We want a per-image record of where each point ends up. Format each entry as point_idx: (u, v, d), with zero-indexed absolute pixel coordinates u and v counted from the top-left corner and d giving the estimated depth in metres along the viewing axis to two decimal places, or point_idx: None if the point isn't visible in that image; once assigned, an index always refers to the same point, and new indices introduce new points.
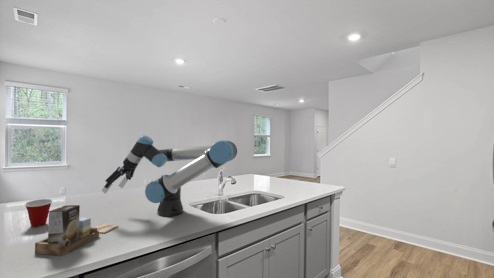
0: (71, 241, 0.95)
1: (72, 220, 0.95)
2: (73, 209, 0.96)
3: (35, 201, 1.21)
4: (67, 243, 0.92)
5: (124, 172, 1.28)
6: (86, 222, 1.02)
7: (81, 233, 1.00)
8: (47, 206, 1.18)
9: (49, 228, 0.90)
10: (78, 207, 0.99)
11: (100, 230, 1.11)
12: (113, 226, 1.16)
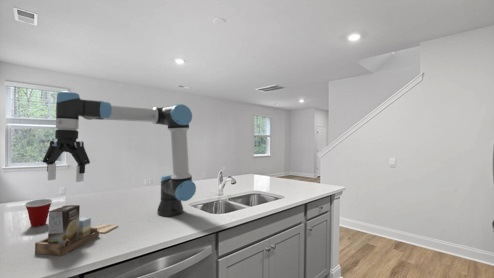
0: (71, 241, 0.95)
1: (72, 220, 0.95)
2: (73, 209, 0.96)
3: (35, 201, 1.21)
4: (67, 243, 0.92)
5: (75, 147, 0.97)
6: (86, 222, 1.02)
7: (81, 233, 1.00)
8: (47, 206, 1.18)
9: (49, 228, 0.90)
10: (78, 207, 0.99)
11: (100, 230, 1.11)
12: (113, 226, 1.16)
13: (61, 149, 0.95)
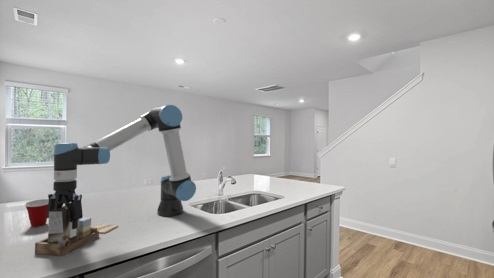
0: (71, 241, 0.95)
1: None
2: None
3: (35, 201, 1.21)
4: (67, 243, 0.92)
5: None
6: (86, 222, 1.02)
7: (81, 233, 1.00)
8: (47, 206, 1.18)
9: (49, 228, 0.90)
10: None
11: (100, 230, 1.11)
12: (113, 226, 1.16)
13: (59, 200, 0.94)
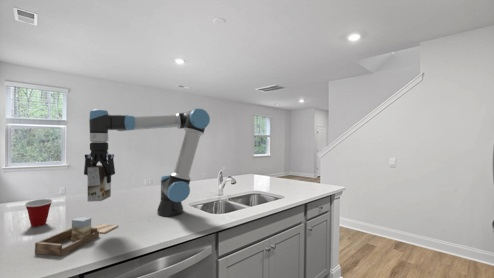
0: (106, 194, 1.11)
1: None
2: None
3: (35, 201, 1.21)
4: (103, 194, 1.09)
5: (106, 158, 1.12)
6: (86, 222, 1.02)
7: (81, 233, 1.00)
8: (47, 206, 1.18)
9: (88, 181, 1.06)
10: None
11: (100, 230, 1.11)
12: (113, 226, 1.16)
13: (95, 159, 1.10)
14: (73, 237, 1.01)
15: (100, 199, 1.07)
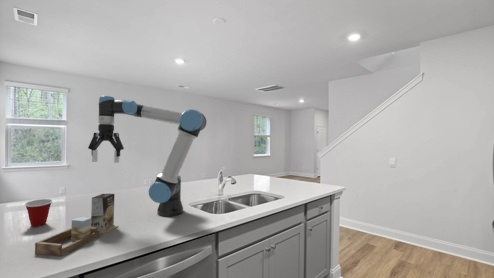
0: (108, 223, 1.14)
1: (110, 205, 1.14)
2: (110, 196, 1.15)
3: (35, 201, 1.21)
4: (106, 224, 1.11)
5: (112, 137, 1.30)
6: (86, 222, 1.02)
7: (81, 233, 1.01)
8: (47, 206, 1.18)
9: (92, 211, 1.09)
10: (113, 195, 1.18)
11: None
12: (113, 226, 1.16)
13: (102, 138, 1.28)
14: (73, 237, 1.01)
15: (103, 229, 1.10)
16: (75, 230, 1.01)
